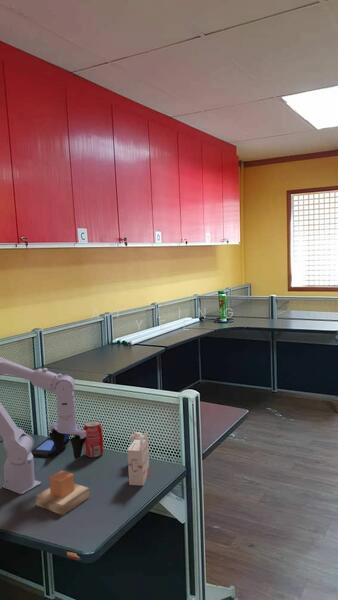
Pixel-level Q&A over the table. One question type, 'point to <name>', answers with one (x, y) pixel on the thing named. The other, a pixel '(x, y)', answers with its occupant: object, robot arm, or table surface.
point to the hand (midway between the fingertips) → (69, 455)
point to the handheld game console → (48, 447)
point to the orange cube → (61, 483)
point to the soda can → (93, 439)
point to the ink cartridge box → (138, 461)
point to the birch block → (62, 499)
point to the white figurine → (136, 436)
